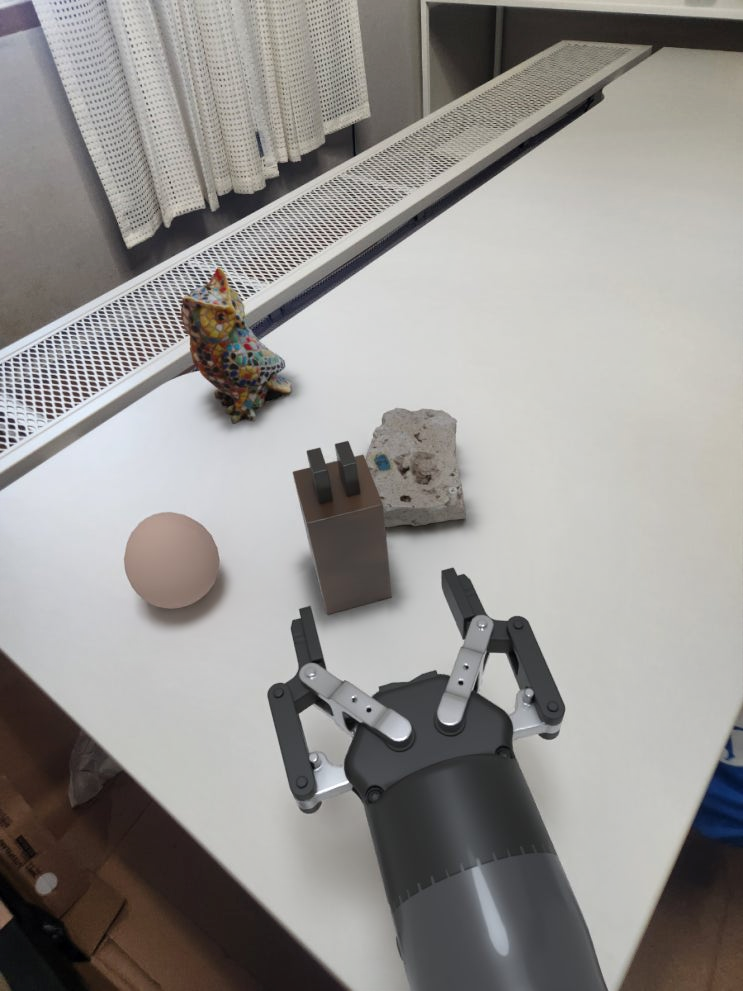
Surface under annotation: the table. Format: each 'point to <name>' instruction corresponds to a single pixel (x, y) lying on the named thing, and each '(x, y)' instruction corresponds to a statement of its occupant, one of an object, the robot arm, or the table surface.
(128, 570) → the egg
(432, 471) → the stone
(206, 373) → the figurine
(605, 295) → the table surface
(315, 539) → the knife block
